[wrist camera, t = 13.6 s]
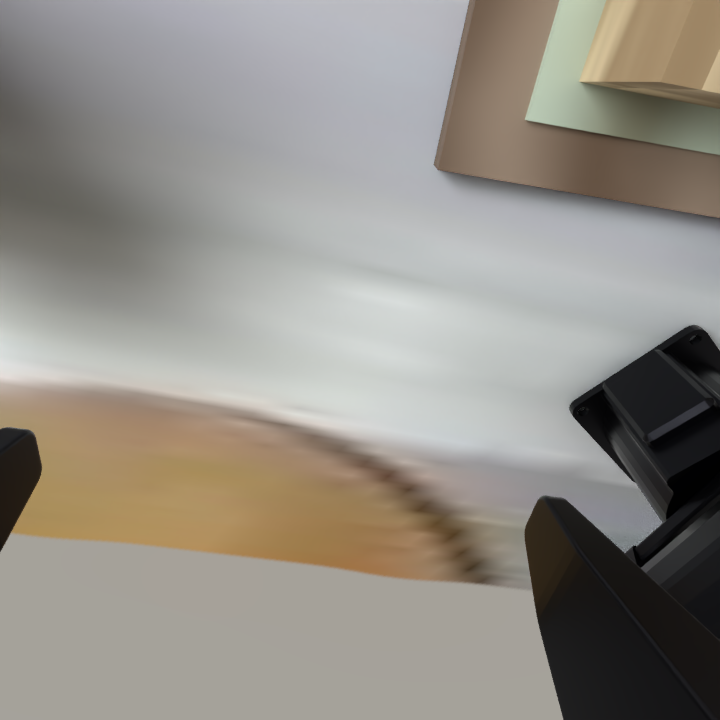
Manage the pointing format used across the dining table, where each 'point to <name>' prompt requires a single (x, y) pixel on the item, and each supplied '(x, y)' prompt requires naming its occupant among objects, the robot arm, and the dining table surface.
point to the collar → (658, 49)
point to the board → (569, 115)
